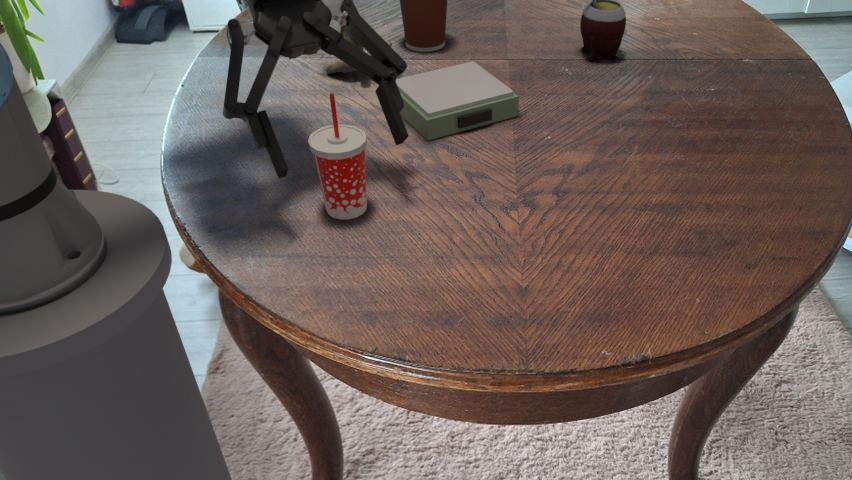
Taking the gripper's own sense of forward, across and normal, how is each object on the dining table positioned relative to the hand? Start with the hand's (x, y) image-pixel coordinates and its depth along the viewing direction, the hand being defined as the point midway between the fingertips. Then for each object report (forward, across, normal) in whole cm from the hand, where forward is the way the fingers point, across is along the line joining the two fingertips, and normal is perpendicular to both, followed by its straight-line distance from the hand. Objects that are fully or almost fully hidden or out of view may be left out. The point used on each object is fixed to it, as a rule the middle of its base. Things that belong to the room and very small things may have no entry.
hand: (345, 157), depth 79 cm
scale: (-6, -22, -16) cm, 28 cm away
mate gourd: (-9, -51, -20) cm, 55 cm away
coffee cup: (-21, -29, -32) cm, 48 cm away
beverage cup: (+4, 0, -6) cm, 7 cm away
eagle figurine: (-18, -15, -29) cm, 37 cm away
